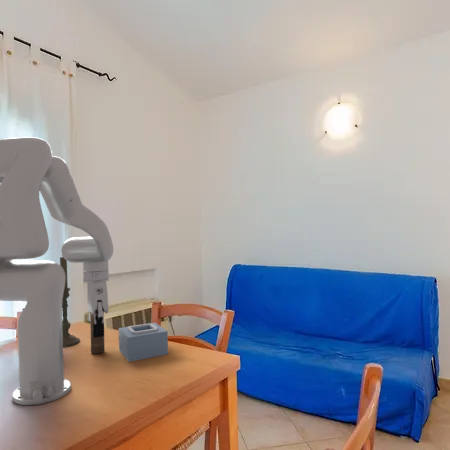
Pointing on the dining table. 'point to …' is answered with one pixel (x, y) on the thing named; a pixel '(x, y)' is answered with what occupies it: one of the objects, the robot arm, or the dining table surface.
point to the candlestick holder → (67, 338)
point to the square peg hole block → (143, 341)
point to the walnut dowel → (97, 342)
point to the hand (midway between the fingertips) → (97, 334)
